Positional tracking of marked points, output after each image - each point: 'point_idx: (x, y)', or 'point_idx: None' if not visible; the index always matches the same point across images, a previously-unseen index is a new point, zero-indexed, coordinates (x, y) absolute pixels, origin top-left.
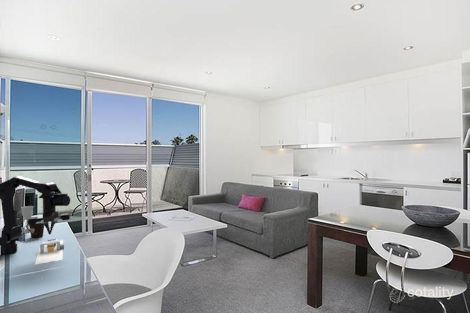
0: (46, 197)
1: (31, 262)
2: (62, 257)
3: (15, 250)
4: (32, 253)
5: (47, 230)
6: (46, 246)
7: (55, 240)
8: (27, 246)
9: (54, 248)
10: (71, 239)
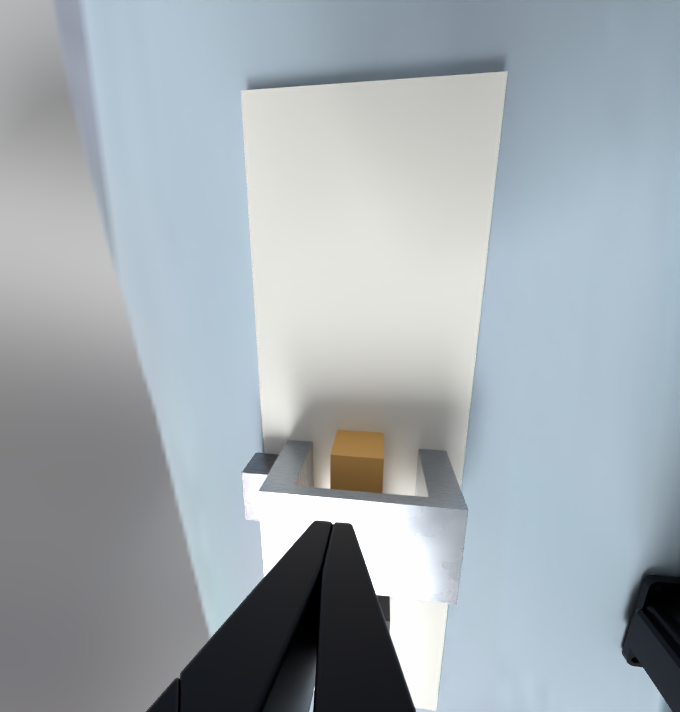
0: None
1: (526, 232)
2: (246, 168)
3: (658, 625)
4: (504, 507)
5: (383, 638)
6: (396, 599)
7: None
8: (532, 705)
9: None
10: None
